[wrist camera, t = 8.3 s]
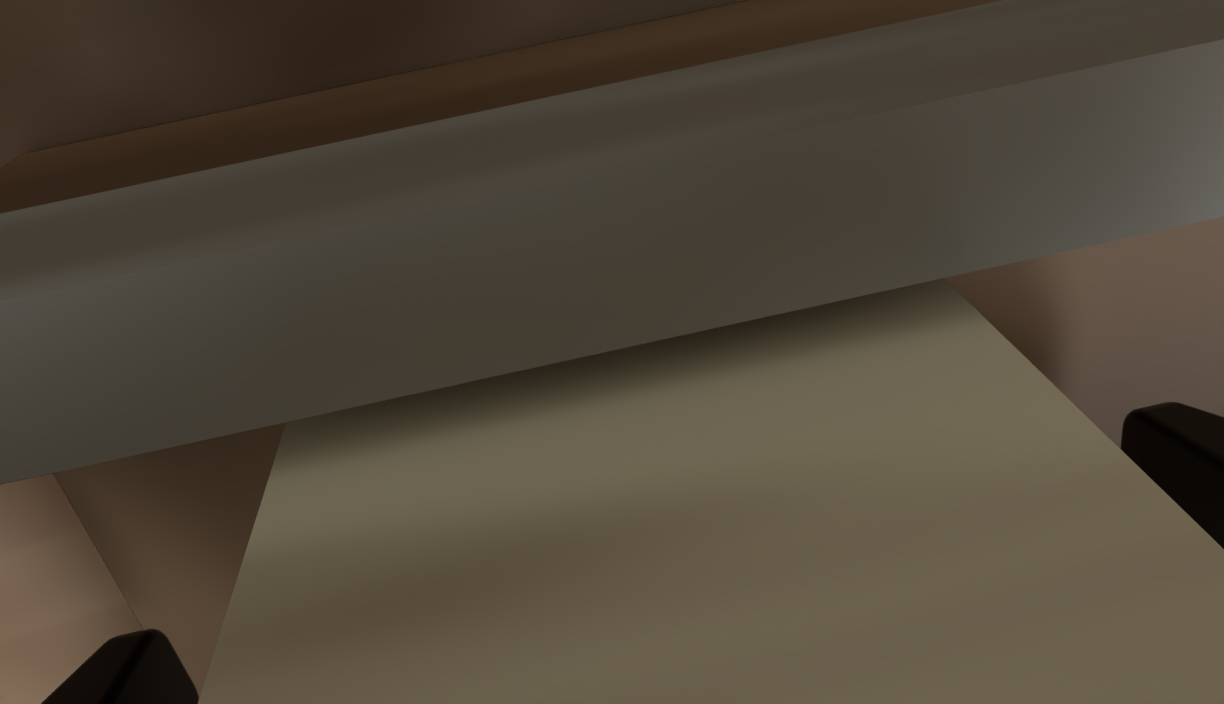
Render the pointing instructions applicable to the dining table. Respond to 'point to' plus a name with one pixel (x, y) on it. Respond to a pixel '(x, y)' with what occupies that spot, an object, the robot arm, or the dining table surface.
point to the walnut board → (597, 237)
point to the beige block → (728, 533)
